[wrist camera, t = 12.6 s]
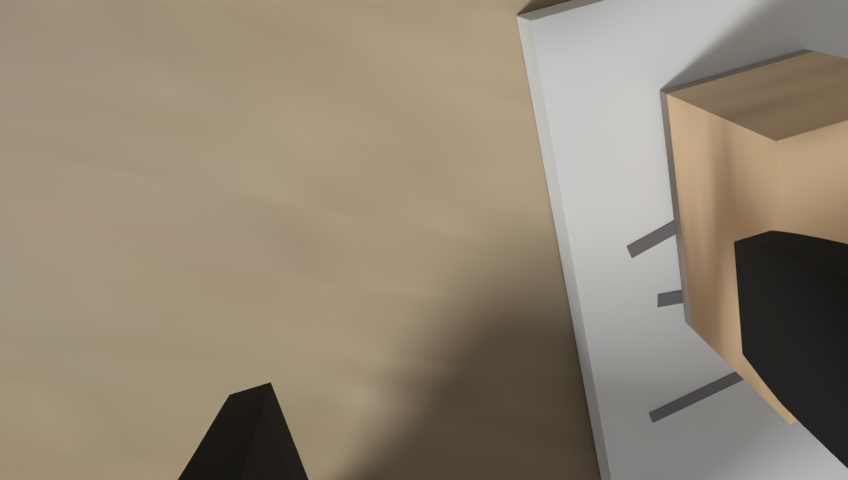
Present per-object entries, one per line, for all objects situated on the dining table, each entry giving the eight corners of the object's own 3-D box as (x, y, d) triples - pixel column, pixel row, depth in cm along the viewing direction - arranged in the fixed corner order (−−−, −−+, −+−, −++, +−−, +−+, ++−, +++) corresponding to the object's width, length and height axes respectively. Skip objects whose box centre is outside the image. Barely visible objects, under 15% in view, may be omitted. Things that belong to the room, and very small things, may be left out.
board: (874, 447, 27) (900, 470, 26) (611, 534, 27) (625, 561, 26) (879, -86, 20) (915, -86, 19) (516, 15, 19) (531, 20, 18)
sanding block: (812, 282, 23) (947, 373, 18) (685, 322, 22) (789, 424, 18) (805, 48, 20) (963, 86, 15) (659, 90, 20) (776, 141, 15)
